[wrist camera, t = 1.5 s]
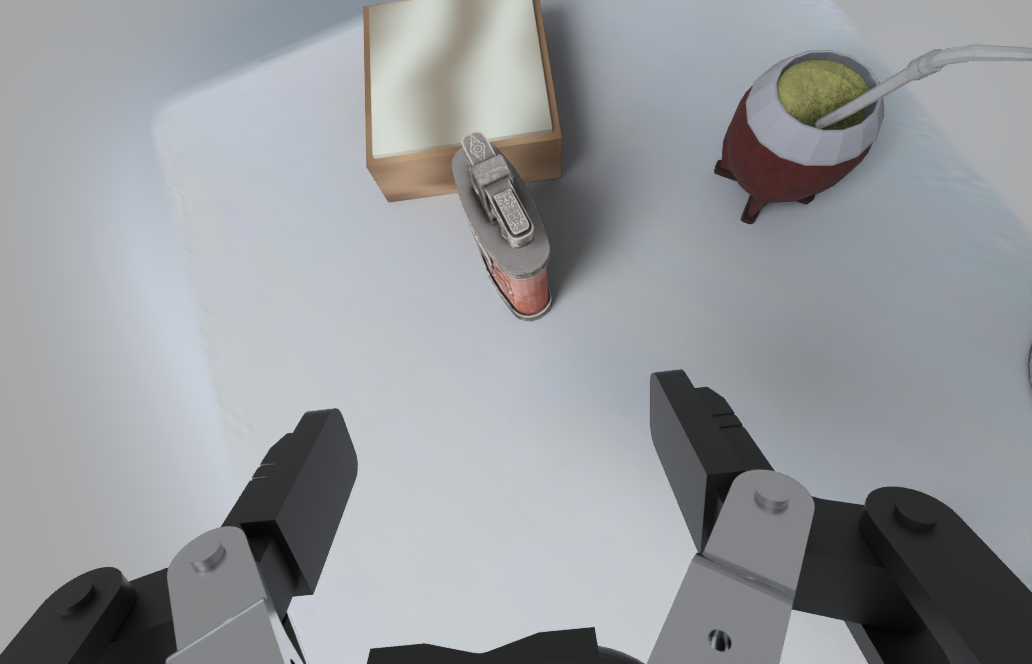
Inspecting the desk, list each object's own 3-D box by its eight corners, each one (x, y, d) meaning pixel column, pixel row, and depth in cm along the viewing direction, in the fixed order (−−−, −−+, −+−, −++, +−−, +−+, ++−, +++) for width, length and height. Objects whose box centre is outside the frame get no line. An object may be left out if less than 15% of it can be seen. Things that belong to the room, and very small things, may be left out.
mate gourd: (726, 125, 33) (856, -146, 19) (846, 163, 31) (1088, -101, 17) (688, 214, 31) (797, -7, 17) (812, 259, 30) (1048, 57, 15)
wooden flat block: (538, 30, 37) (535, -26, 32) (561, 177, 33) (561, 134, 29) (383, 55, 37) (361, 2, 33) (388, 202, 33) (364, 163, 29)
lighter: (464, 227, 32) (425, 123, 23) (510, 206, 32) (490, 94, 23) (514, 330, 30) (494, 262, 20) (563, 307, 30) (566, 230, 21)
